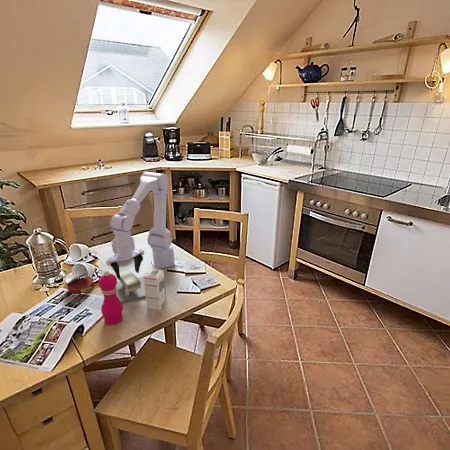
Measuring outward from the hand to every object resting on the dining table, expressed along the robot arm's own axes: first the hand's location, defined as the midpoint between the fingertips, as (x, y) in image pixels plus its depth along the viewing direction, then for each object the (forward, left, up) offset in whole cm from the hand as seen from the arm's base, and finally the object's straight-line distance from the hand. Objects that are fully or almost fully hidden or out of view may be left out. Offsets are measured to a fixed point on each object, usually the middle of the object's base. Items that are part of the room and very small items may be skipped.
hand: (128, 274), depth 125 cm
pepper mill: (+8, +15, -8) cm, 19 cm away
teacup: (-3, -34, -8) cm, 35 cm away
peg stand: (0, 0, -8) cm, 8 cm away
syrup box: (-8, +13, -8) cm, 17 cm away
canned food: (+18, -10, -8) cm, 22 cm away
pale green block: (0, 0, -4) cm, 4 cm away
